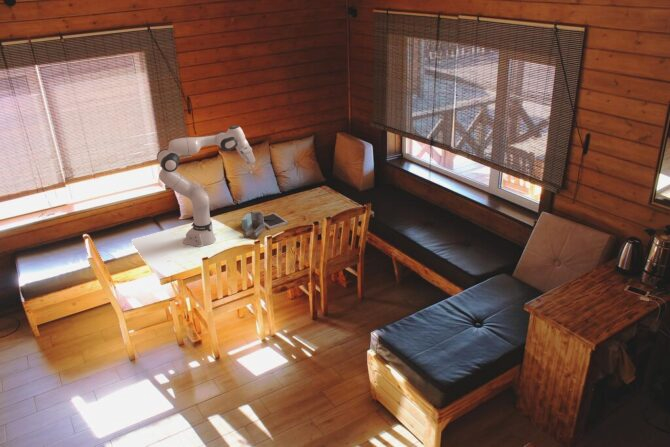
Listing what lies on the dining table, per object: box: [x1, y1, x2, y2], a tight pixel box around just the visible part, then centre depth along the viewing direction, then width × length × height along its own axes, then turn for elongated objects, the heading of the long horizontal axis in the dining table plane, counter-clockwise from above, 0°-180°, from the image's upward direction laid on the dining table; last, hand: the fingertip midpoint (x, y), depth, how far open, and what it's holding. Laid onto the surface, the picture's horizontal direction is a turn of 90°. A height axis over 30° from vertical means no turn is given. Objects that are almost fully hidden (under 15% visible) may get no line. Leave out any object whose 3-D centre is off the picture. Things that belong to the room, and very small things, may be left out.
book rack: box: [243, 210, 266, 240], centre depth 405 cm, size 10×15×14 cm, turn 164°
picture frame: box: [263, 212, 289, 230], centre depth 423 cm, size 16×3×21 cm
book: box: [240, 212, 252, 231], centre depth 417 cm, size 4×11×8 cm, turn 164°
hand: (250, 165), depth 393 cm, fingers open, 8 cm apart
